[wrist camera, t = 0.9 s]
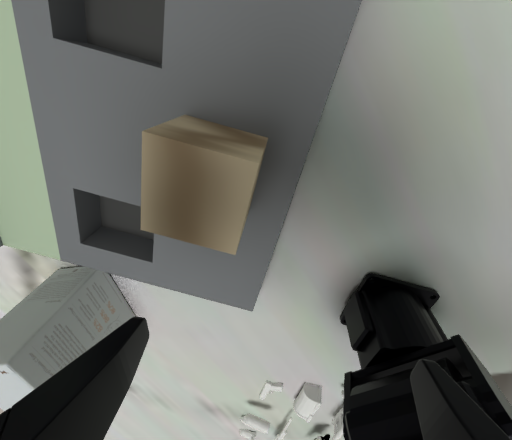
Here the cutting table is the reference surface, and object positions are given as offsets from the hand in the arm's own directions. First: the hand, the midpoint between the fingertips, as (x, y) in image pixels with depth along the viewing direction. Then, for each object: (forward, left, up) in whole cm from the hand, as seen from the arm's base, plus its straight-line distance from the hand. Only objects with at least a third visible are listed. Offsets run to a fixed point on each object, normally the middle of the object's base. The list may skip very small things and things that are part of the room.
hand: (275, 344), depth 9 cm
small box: (+16, +17, -13) cm, 27 cm away
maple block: (+5, -2, -10) cm, 11 cm away
